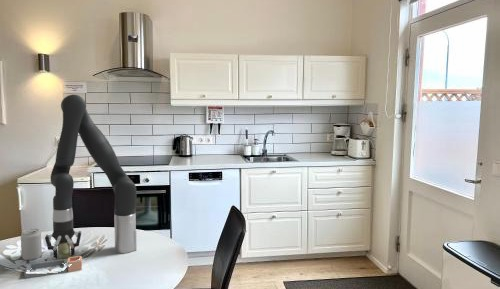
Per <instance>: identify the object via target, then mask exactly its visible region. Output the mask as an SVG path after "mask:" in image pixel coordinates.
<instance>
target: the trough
mask: <svg viewBox="0 0 500 289" xmlns="http://www.w3.org/2000/svg"><path fill="white" fill-rule="evenodd" d="M67 262H68V259H60V260H58V259H54V260H46V261H40V262H32V263H27V266H26V269H27V270H30V269H31V268H32V269H31V270H38V269H42V268H51V267H50V266H52V267H57V266H56V265H59V266H61V265H60V264H62V263H64V264H65V263H67ZM26 269H25V270H26ZM67 272H68V268H67V269H65V270H64V271H61V272H58V273H47V274H26V273H25V272H24V279H29V278H36V277H42V276H50V275H56V274H65V273H67Z"/></svg>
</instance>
